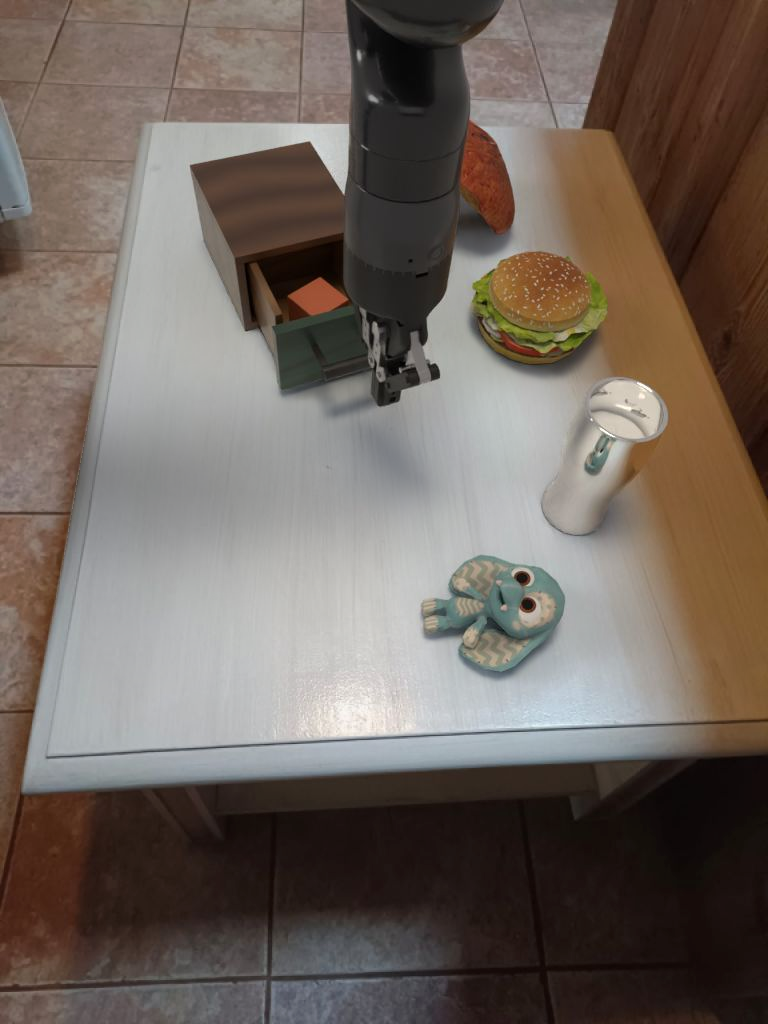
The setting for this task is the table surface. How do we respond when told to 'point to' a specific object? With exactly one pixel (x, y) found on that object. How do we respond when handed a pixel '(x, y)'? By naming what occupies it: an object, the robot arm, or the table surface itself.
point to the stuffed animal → (498, 610)
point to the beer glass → (603, 452)
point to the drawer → (311, 340)
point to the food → (537, 307)
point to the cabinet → (264, 211)
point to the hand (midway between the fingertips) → (385, 398)
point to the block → (315, 300)
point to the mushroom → (487, 180)
